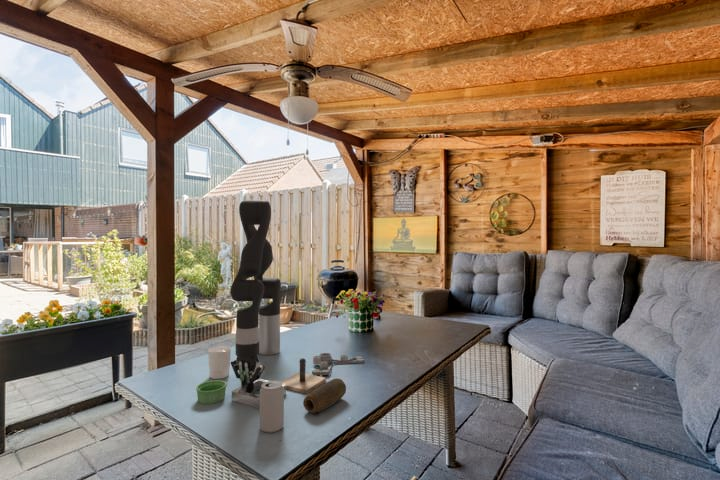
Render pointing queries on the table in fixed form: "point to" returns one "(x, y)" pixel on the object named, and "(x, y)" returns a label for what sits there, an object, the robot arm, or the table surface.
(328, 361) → the pulley system
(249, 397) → the link
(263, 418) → the beverage can
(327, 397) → the brown cylinder
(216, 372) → the white cup
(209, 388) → the ramekin
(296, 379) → the wooden board with peg
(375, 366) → the table surface
